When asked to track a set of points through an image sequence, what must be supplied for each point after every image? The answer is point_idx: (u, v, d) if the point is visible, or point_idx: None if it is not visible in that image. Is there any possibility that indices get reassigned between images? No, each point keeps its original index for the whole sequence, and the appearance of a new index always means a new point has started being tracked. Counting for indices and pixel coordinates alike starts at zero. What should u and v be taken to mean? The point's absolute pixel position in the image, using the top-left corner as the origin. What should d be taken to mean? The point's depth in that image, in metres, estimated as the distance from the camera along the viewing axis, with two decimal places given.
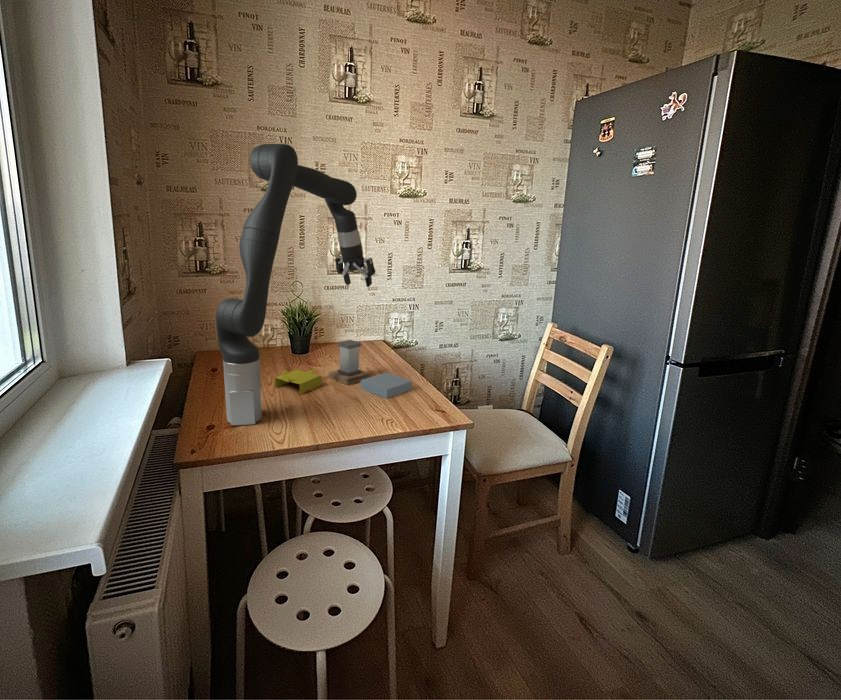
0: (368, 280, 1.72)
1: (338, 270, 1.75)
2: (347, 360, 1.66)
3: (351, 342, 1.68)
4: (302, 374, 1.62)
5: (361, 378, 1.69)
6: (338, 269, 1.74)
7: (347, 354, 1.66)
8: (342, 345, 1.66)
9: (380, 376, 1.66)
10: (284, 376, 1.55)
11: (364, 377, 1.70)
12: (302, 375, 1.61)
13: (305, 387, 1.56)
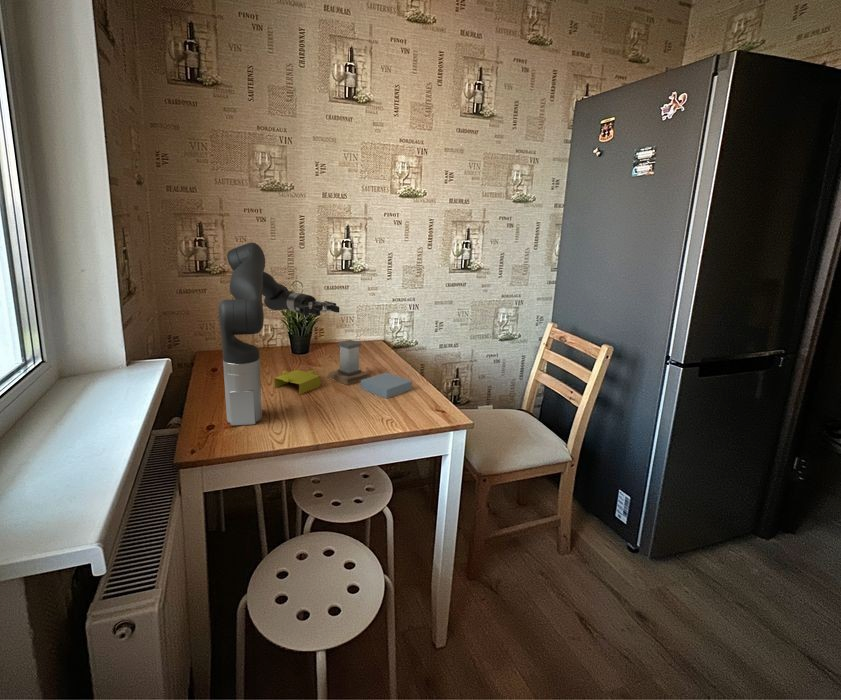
0: (335, 306, 1.77)
1: (303, 307, 1.71)
2: (347, 360, 1.66)
3: (351, 342, 1.68)
4: (301, 374, 1.62)
5: (361, 378, 1.69)
6: (303, 306, 1.71)
7: (347, 354, 1.66)
8: (342, 345, 1.66)
9: (380, 376, 1.66)
10: (284, 376, 1.55)
11: (364, 377, 1.70)
12: (302, 375, 1.61)
13: (304, 388, 1.56)
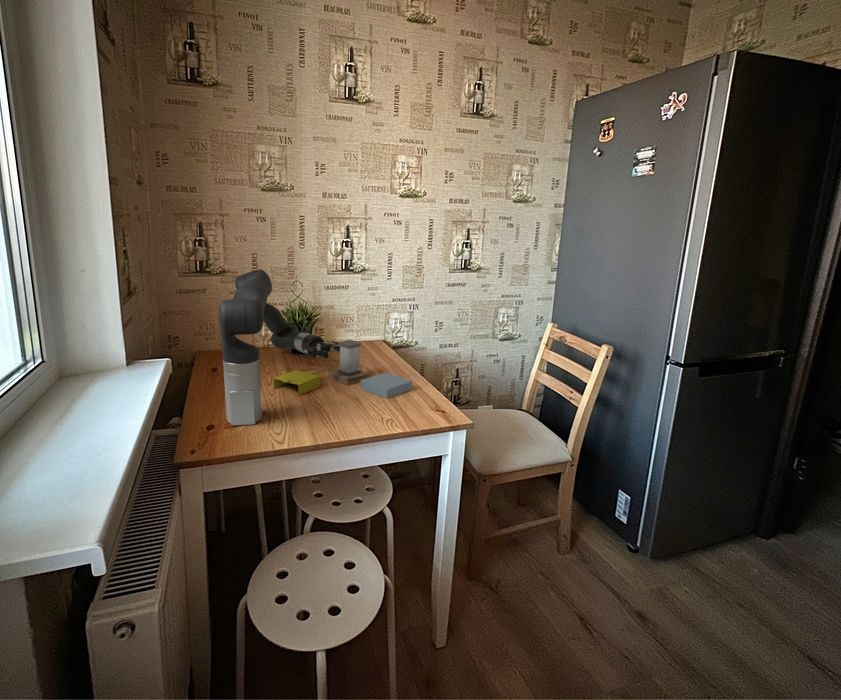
0: None
1: (312, 349, 1.71)
2: (347, 360, 1.66)
3: (351, 342, 1.68)
4: (301, 375, 1.62)
5: (361, 378, 1.69)
6: (311, 349, 1.72)
7: (347, 354, 1.66)
8: (342, 345, 1.66)
9: (380, 376, 1.66)
10: (283, 377, 1.54)
11: (364, 377, 1.70)
12: (301, 376, 1.60)
13: (303, 388, 1.55)
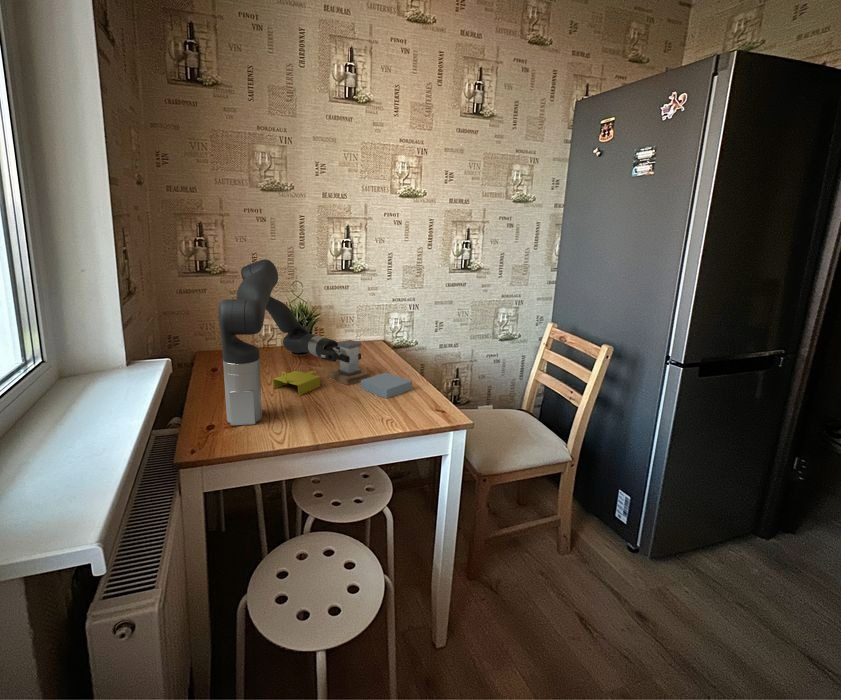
0: None
1: (332, 353, 1.67)
2: None
3: (351, 342, 1.68)
4: (301, 375, 1.61)
5: (361, 378, 1.69)
6: (331, 353, 1.67)
7: (347, 354, 1.66)
8: (342, 345, 1.66)
9: (380, 376, 1.66)
10: (282, 377, 1.54)
11: (364, 377, 1.70)
12: (301, 376, 1.60)
13: (303, 389, 1.55)
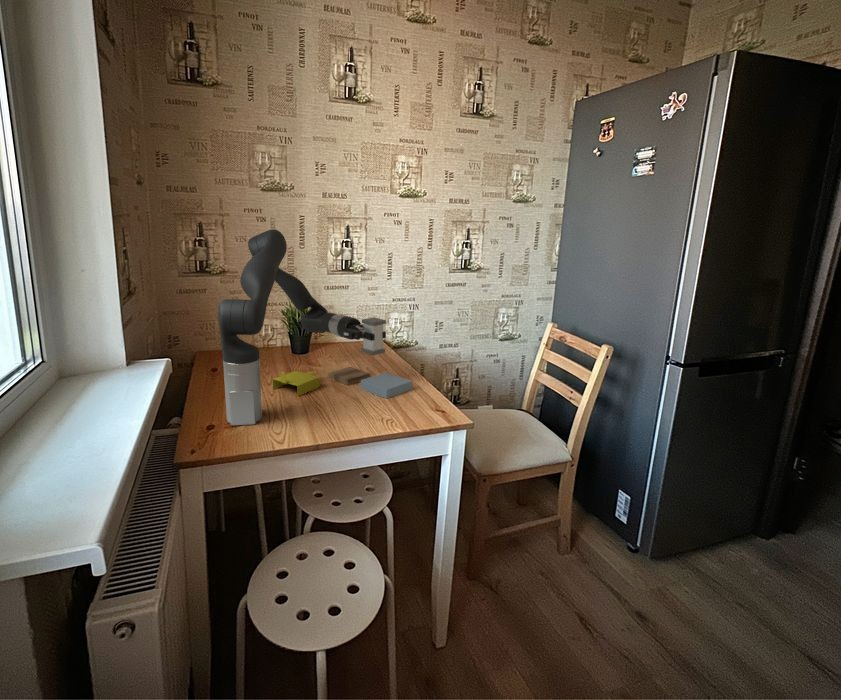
0: None
1: (356, 331, 1.59)
2: None
3: (375, 319, 1.60)
4: (300, 375, 1.61)
5: (361, 378, 1.69)
6: (355, 331, 1.59)
7: (372, 332, 1.58)
8: (366, 322, 1.58)
9: (380, 376, 1.66)
10: (282, 378, 1.54)
11: (364, 377, 1.70)
12: (300, 377, 1.60)
13: (302, 389, 1.54)
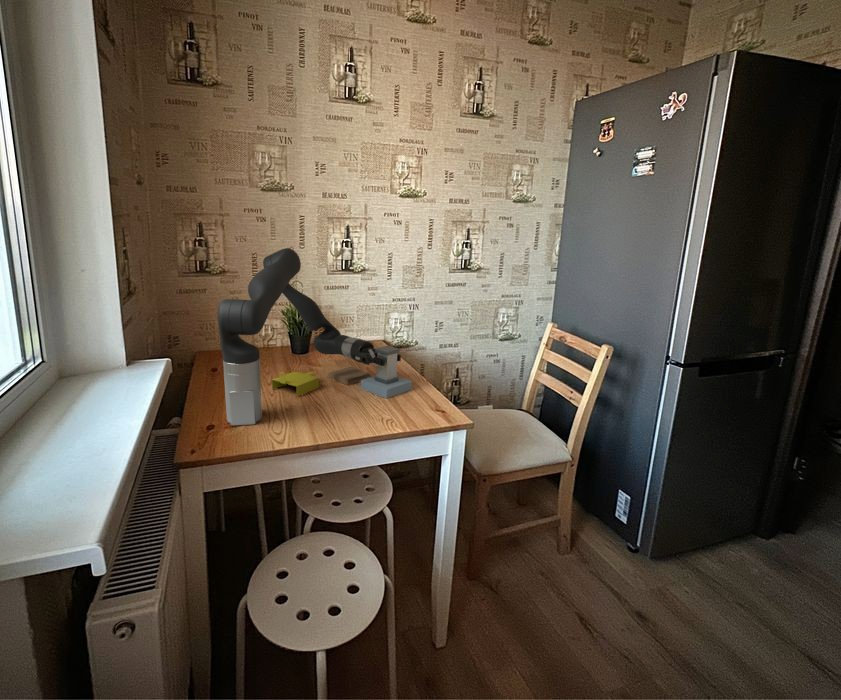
0: None
1: (366, 356, 1.57)
2: (386, 367, 1.58)
3: (389, 348, 1.59)
4: (300, 376, 1.60)
5: (361, 378, 1.69)
6: (365, 356, 1.58)
7: (385, 361, 1.57)
8: (380, 351, 1.57)
9: None
10: (281, 378, 1.53)
11: (364, 377, 1.70)
12: (300, 377, 1.59)
13: (302, 390, 1.54)
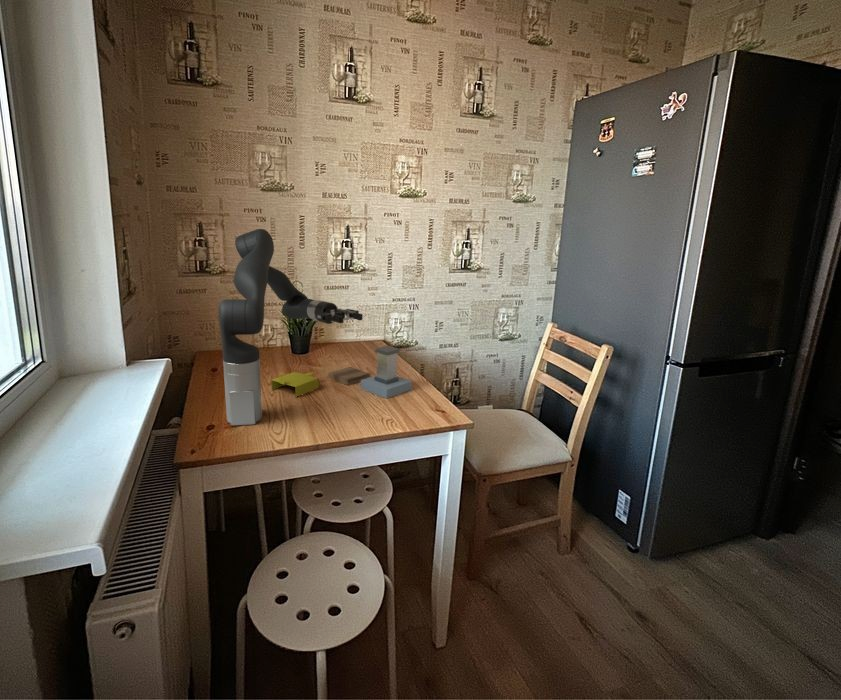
0: None
1: (326, 314, 1.64)
2: (386, 367, 1.58)
3: (389, 348, 1.59)
4: (299, 376, 1.60)
5: (361, 378, 1.69)
6: (325, 314, 1.64)
7: (385, 361, 1.57)
8: (380, 351, 1.57)
9: None
10: (280, 378, 1.53)
11: (364, 377, 1.70)
12: (299, 378, 1.59)
13: (301, 390, 1.53)
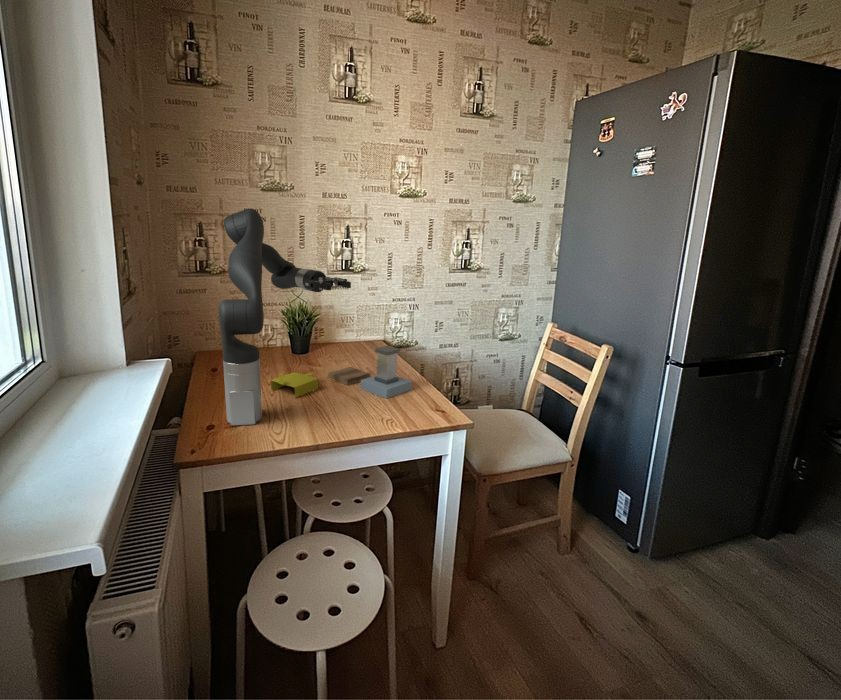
0: None
1: (313, 281, 1.63)
2: (386, 367, 1.58)
3: (389, 348, 1.59)
4: (299, 377, 1.59)
5: (361, 378, 1.69)
6: (313, 281, 1.63)
7: (385, 361, 1.57)
8: (380, 351, 1.57)
9: None
10: (279, 379, 1.52)
11: (364, 377, 1.70)
12: (299, 378, 1.58)
13: (300, 391, 1.53)
